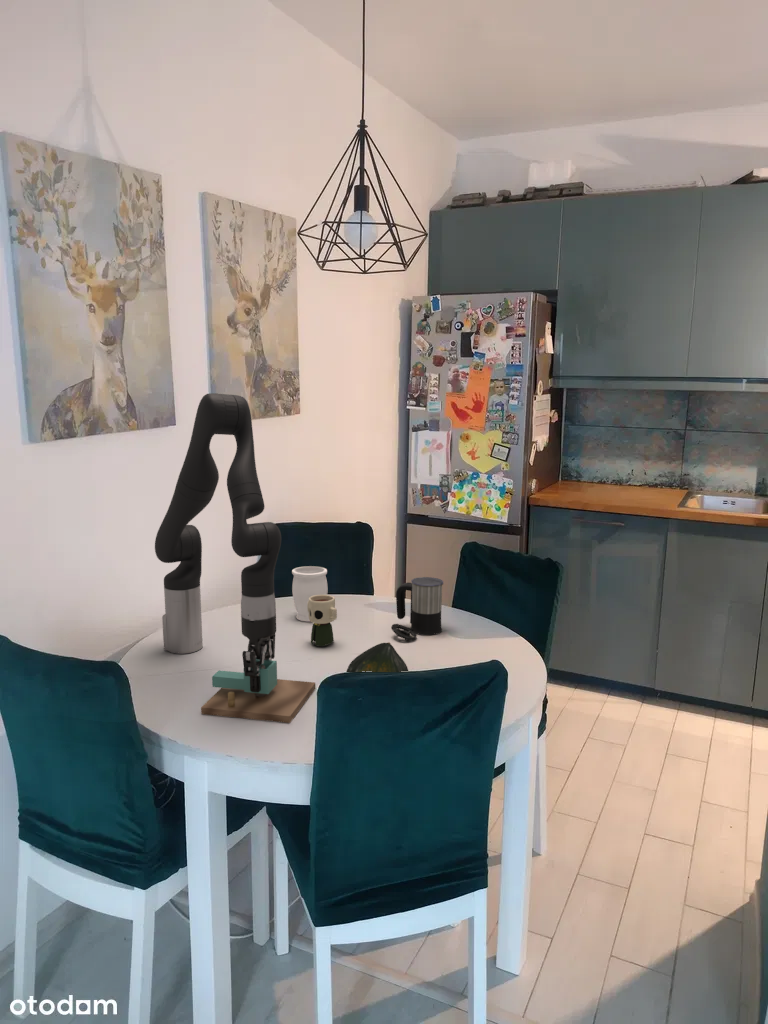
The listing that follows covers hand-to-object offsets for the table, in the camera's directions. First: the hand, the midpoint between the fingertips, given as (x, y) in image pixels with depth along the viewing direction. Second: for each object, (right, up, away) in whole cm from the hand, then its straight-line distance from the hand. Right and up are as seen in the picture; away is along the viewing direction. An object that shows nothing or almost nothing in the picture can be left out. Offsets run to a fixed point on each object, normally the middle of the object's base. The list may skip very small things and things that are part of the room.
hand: (260, 685), depth 163 cm
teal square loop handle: (-4, 0, +1) cm, 4 cm away
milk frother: (+37, +4, +45) cm, 59 cm away
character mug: (+11, +2, +37) cm, 38 cm away
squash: (+26, -4, -2) cm, 26 cm away
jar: (+5, +6, +59) cm, 60 cm away
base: (0, -4, +1) cm, 4 cm away
